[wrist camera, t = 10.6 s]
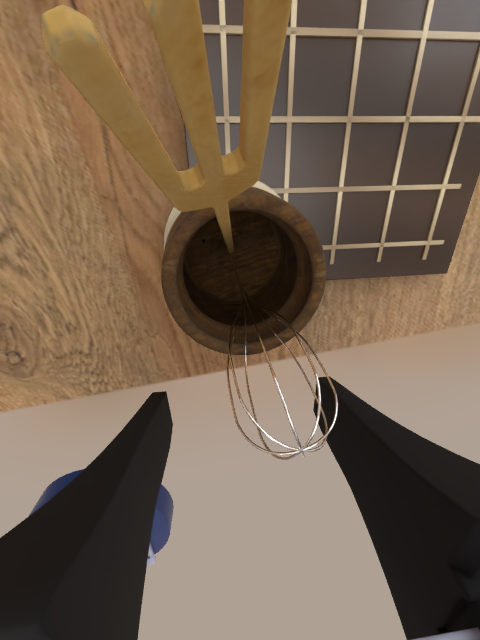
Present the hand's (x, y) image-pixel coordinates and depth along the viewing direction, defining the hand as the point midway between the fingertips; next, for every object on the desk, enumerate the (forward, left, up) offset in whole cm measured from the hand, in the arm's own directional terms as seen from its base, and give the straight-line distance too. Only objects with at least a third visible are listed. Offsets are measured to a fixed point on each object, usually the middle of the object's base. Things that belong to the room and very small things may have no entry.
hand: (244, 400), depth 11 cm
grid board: (+11, -5, -6) cm, 14 cm away
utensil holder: (+6, 0, -5) cm, 8 cm away
